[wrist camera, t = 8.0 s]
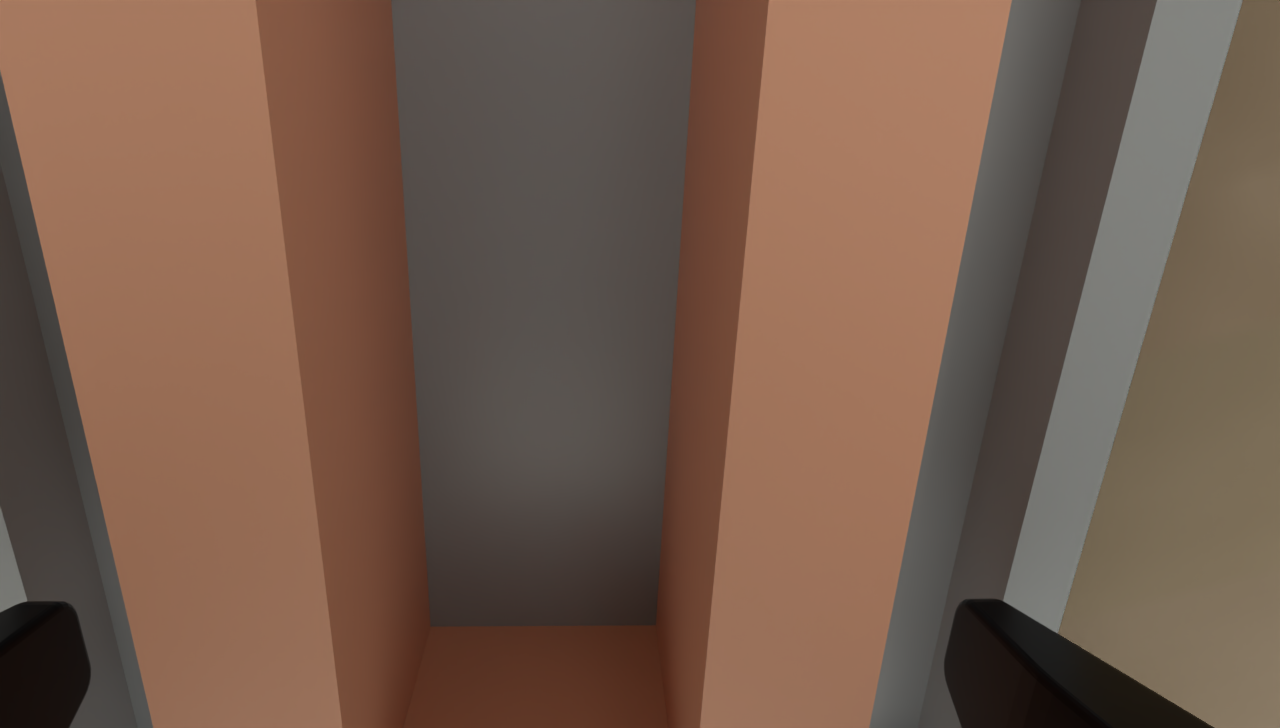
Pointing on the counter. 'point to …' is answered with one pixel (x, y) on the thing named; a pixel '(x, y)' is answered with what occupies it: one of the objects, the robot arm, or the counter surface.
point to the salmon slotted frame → (384, 362)
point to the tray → (645, 324)
